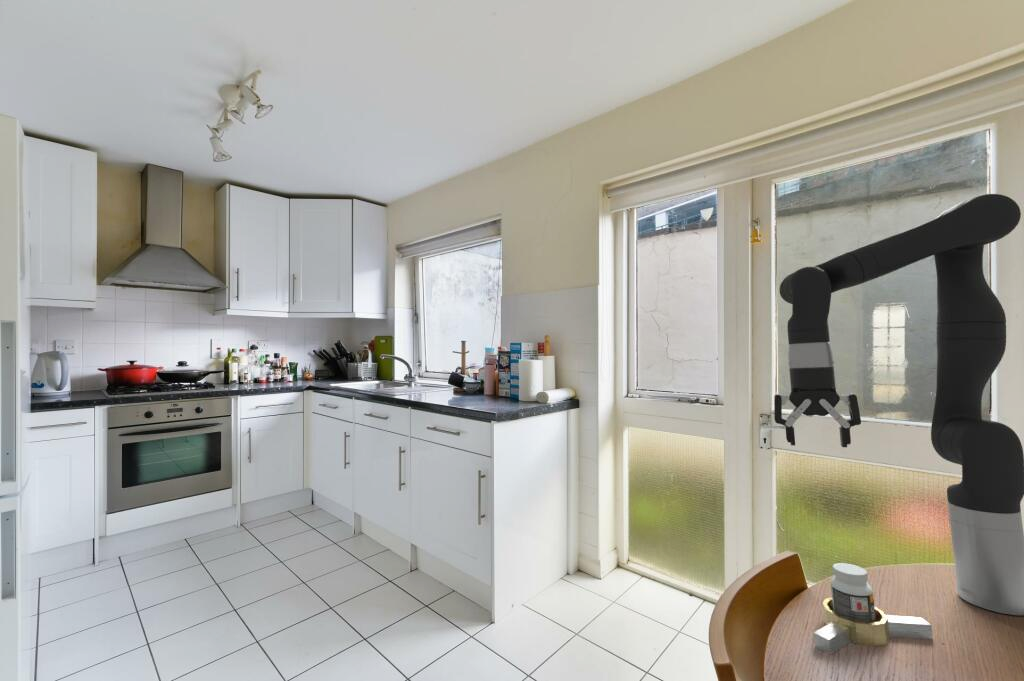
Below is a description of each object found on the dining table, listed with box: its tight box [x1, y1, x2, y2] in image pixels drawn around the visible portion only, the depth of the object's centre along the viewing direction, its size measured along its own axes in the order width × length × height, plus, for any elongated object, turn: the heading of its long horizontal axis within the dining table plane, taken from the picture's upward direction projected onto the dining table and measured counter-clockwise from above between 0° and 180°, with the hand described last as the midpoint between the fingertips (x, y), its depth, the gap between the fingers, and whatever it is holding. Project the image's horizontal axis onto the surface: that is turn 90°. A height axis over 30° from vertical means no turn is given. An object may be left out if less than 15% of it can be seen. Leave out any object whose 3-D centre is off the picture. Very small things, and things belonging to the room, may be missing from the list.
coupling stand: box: [813, 597, 934, 655], centre depth 73 cm, size 20×9×3 cm, turn 98°
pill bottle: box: [830, 562, 876, 623], centre depth 73 cm, size 6×6×10 cm
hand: (817, 445), depth 87 cm, fingers open, 8 cm apart
